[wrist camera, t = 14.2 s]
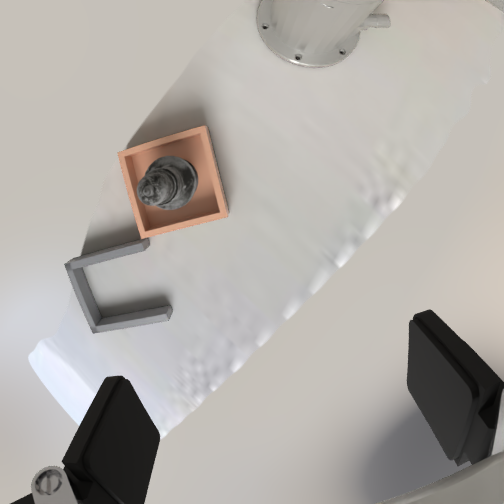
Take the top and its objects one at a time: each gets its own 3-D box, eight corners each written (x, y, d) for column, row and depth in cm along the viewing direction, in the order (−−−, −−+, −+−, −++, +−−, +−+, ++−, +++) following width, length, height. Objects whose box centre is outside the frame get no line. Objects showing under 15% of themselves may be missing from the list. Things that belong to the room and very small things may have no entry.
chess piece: (142, 184, 37) (101, 198, 25) (173, 145, 35) (140, 142, 24) (180, 215, 38) (152, 241, 26) (211, 176, 37) (195, 186, 25)
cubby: (147, 237, 39) (141, 242, 37) (172, 311, 42) (168, 320, 40) (72, 258, 40) (64, 264, 37) (99, 325, 43) (92, 333, 40)
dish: (208, 127, 35) (204, 125, 33) (229, 212, 38) (227, 217, 36) (126, 152, 36) (117, 152, 33) (148, 232, 39) (141, 239, 36)
